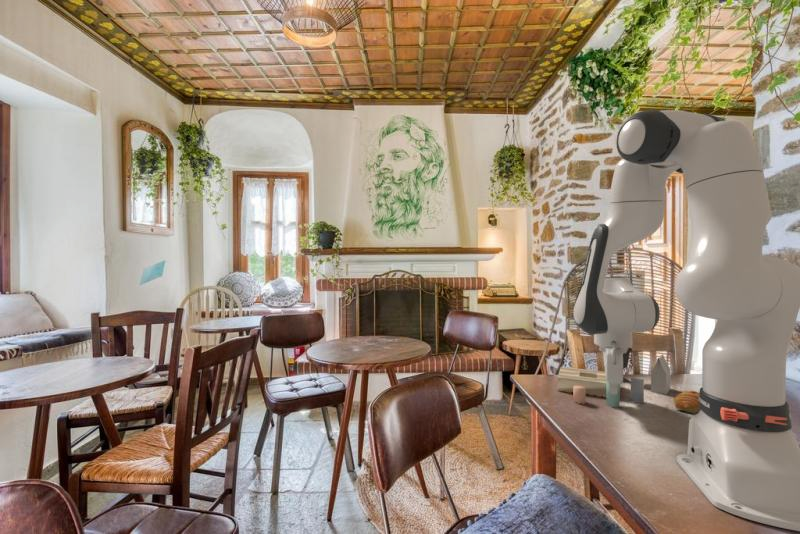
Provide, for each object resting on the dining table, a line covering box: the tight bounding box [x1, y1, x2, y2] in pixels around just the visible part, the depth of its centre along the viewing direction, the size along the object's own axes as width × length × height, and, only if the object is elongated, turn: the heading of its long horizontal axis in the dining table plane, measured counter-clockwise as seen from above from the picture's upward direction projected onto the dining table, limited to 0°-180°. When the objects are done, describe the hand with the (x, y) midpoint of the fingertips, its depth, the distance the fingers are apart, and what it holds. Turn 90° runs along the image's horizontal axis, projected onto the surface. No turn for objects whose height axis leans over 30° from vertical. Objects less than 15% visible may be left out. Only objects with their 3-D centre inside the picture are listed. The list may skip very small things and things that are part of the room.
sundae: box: [623, 347, 633, 383], centre depth 122 cm, size 7×7×15 cm
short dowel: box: [572, 386, 587, 404], centre depth 104 cm, size 3×3×4 cm
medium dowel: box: [630, 377, 645, 404], centre depth 104 cm, size 3×3×6 cm
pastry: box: [673, 390, 701, 414], centre depth 99 cm, size 9×7×4 cm
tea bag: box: [650, 353, 671, 396], centre depth 112 cm, size 4×7×10 cm, turn 137°
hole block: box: [557, 366, 621, 400], centre depth 115 cm, size 12×16×4 cm
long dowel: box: [605, 381, 620, 409], centre depth 101 cm, size 3×3×8 cm
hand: (612, 390), depth 101 cm, fingers closed on long dowel, 3 cm apart
